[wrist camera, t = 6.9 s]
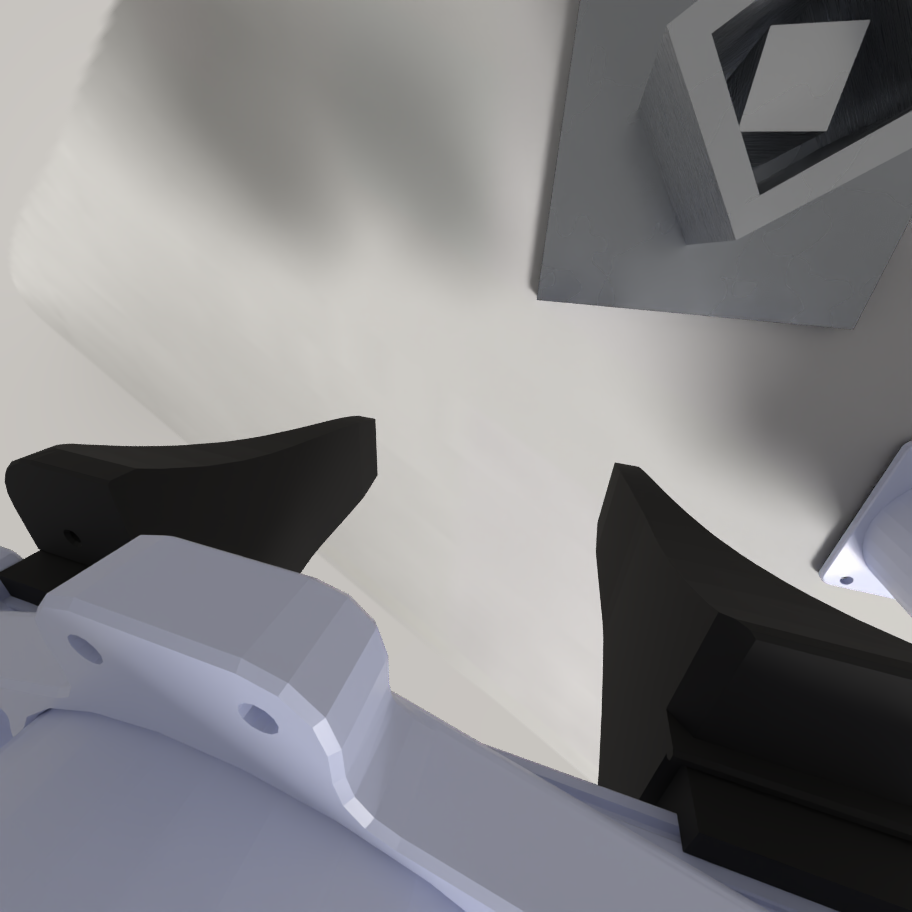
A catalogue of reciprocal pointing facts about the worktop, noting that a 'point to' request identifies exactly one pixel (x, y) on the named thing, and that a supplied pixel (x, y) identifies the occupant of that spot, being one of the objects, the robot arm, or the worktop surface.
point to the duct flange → (769, 150)
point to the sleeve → (716, 127)
